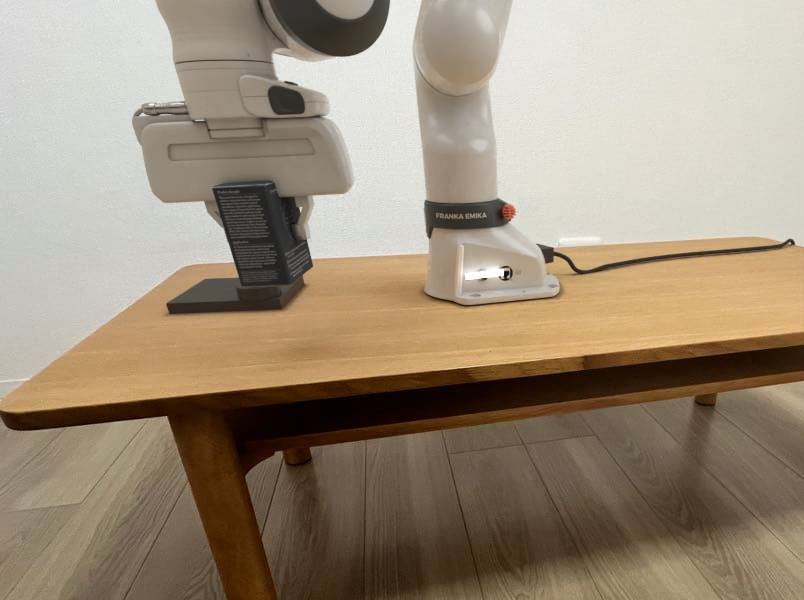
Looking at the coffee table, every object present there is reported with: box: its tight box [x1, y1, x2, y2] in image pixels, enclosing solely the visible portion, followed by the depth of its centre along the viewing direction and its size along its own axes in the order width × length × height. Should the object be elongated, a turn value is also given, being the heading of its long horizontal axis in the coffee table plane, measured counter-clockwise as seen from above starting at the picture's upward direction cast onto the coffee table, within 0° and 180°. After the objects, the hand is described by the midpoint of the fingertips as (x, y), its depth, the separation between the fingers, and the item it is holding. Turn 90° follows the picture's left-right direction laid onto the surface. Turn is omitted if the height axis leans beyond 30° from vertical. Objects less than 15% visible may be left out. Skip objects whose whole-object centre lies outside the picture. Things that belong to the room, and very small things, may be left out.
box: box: [212, 181, 314, 288], centre depth 60 cm, size 8×6×11 cm
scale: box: [165, 274, 305, 315], centre depth 85 cm, size 16×14×4 cm
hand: (270, 240), depth 60 cm, fingers closed on box, 6 cm apart
